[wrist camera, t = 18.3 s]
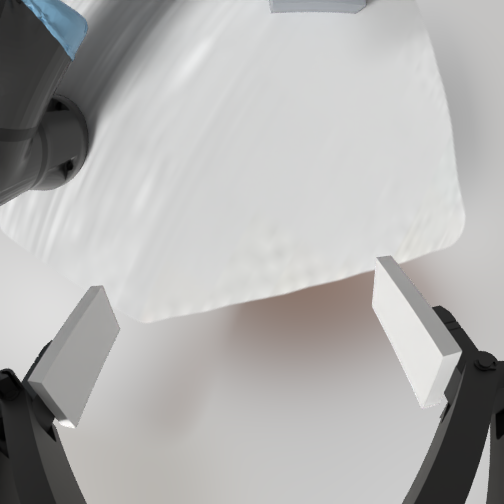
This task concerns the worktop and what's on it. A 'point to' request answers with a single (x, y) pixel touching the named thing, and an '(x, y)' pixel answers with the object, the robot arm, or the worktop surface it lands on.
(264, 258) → the worktop surface
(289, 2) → the divided tray
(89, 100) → the worktop surface
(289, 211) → the worktop surface
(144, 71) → the worktop surface
